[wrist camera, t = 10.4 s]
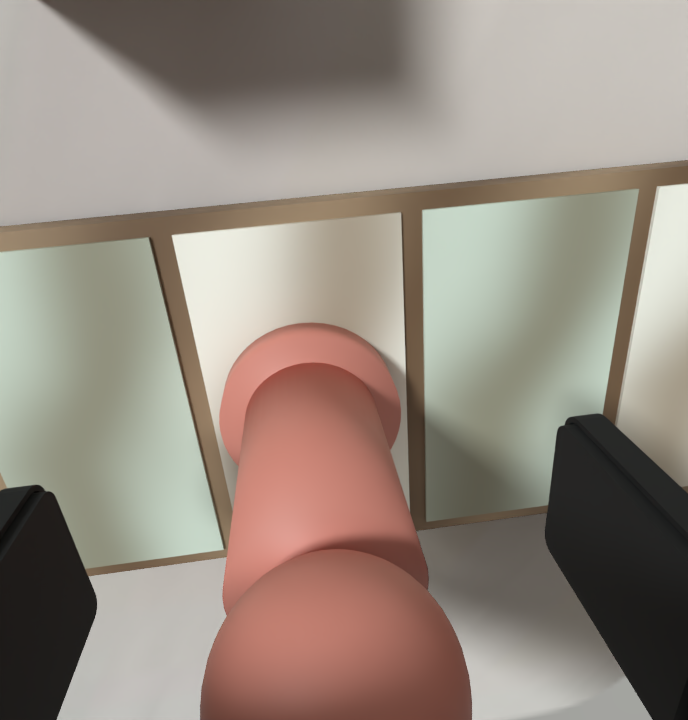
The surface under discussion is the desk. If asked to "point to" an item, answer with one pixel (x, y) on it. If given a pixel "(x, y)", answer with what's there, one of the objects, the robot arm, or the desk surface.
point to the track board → (357, 314)
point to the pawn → (324, 547)
